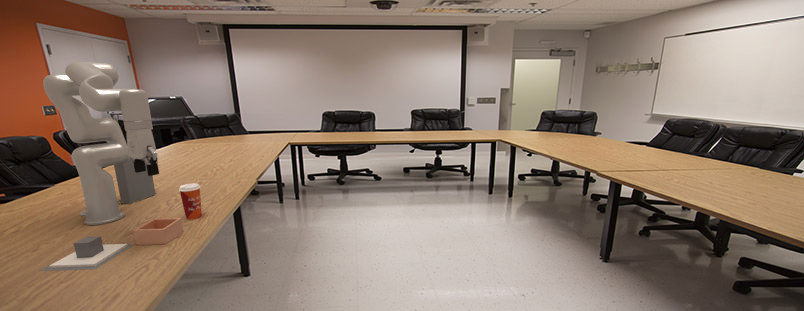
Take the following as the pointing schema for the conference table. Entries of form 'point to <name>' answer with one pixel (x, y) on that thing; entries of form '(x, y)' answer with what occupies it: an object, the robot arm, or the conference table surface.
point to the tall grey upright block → (133, 182)
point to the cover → (88, 253)
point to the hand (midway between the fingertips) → (147, 173)
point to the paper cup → (191, 200)
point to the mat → (88, 267)
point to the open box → (158, 231)
